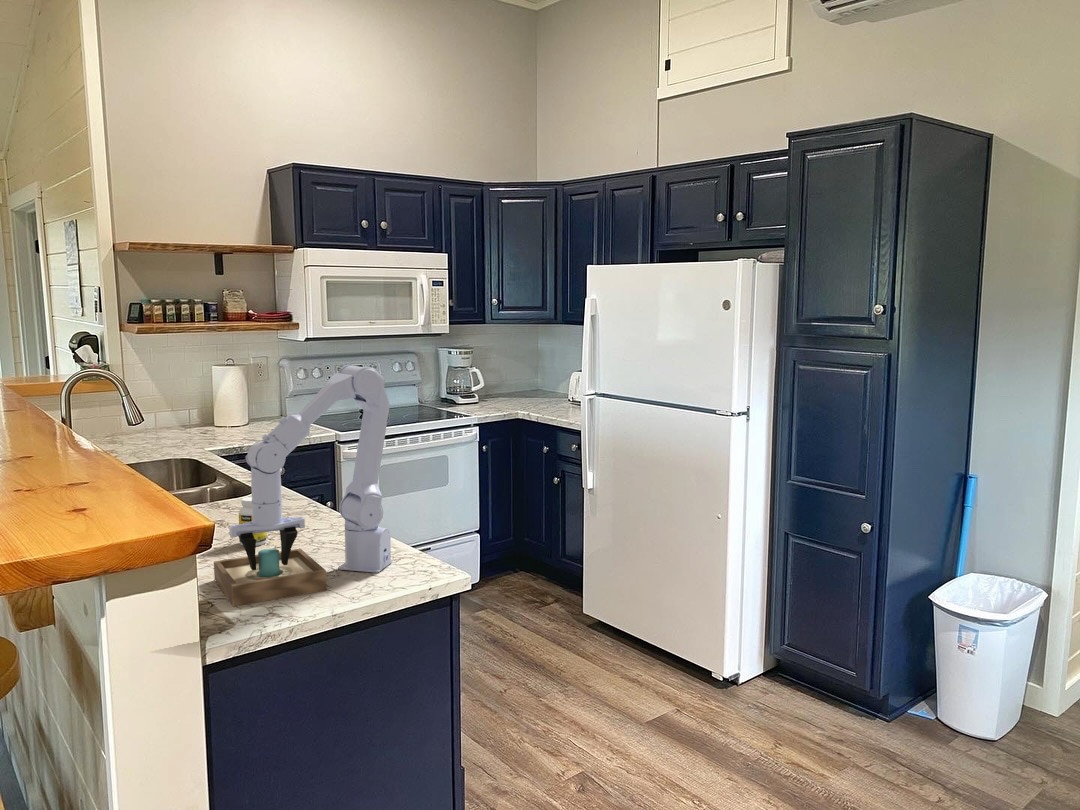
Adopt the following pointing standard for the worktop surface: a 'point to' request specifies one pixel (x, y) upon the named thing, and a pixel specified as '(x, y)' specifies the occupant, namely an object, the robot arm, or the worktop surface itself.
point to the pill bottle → (250, 520)
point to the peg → (268, 563)
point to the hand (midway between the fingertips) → (269, 566)
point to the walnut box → (269, 579)
